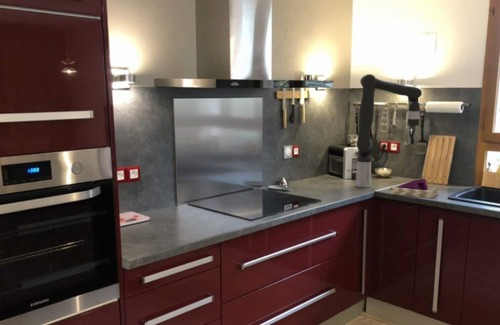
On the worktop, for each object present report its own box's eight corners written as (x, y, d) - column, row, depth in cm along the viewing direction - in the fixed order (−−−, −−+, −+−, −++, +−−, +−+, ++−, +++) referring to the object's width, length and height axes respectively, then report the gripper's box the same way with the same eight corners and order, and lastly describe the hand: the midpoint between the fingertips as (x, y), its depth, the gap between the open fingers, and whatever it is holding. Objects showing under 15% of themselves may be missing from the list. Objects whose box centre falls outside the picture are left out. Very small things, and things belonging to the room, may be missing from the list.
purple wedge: (398, 200, 291) (417, 193, 275) (394, 187, 293) (413, 180, 277) (409, 198, 294) (429, 191, 279) (405, 186, 297) (425, 178, 281)
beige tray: (390, 193, 282) (390, 187, 282) (396, 189, 294) (396, 183, 294) (432, 198, 269) (433, 191, 269) (436, 193, 281) (437, 187, 281)
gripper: (409, 117, 304) (408, 143, 307) (405, 118, 293) (404, 144, 296) (421, 117, 301) (420, 143, 303) (417, 118, 289) (416, 145, 292)
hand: (412, 144), depth 299 cm, fingers closed
